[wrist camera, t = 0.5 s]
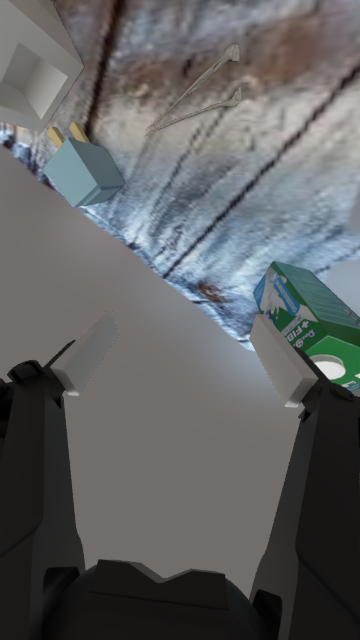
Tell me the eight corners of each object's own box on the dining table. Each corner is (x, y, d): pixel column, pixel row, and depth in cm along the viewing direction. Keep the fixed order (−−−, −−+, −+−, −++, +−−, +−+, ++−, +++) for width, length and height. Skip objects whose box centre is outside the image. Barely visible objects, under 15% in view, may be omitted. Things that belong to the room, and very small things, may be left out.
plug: (94, 125, 25) (46, 104, 18) (126, 185, 29) (99, 187, 22) (72, 151, 27) (23, 142, 20) (105, 203, 32) (75, 210, 25)
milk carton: (273, 260, 35) (340, 350, 17) (310, 270, 35) (416, 369, 17) (252, 293, 41) (285, 383, 23) (284, 301, 41) (341, 397, 23)
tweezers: (238, 43, 19) (240, 33, 17) (241, 104, 22) (242, 100, 20) (127, 123, 25) (121, 121, 24) (140, 162, 28) (136, 161, 27)
